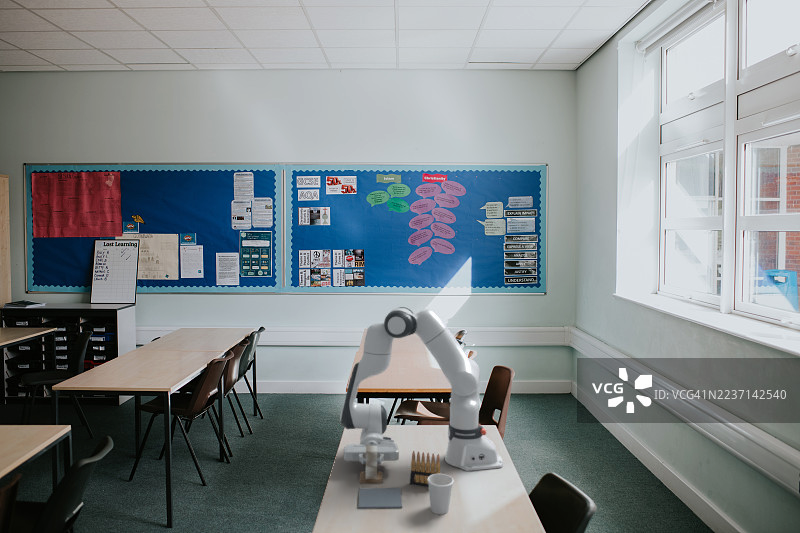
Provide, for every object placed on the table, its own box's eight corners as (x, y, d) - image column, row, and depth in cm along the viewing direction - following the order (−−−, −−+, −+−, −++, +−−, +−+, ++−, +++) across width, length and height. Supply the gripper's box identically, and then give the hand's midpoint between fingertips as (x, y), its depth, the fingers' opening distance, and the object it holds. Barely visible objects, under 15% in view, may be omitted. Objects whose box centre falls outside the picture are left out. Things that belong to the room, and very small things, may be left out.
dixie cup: (434, 518, 161) (434, 487, 160) (422, 505, 168) (422, 475, 168) (457, 513, 164) (458, 482, 163) (444, 500, 172) (445, 471, 171)
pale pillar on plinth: (382, 474, 189) (382, 444, 188) (382, 482, 183) (383, 451, 182) (360, 475, 188) (360, 445, 188) (359, 483, 182) (360, 452, 182)
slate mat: (400, 489, 178) (400, 488, 178) (402, 508, 166) (402, 506, 166) (359, 490, 177) (359, 488, 177) (358, 508, 166) (358, 506, 165)
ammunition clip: (409, 484, 182) (410, 451, 182) (410, 482, 184) (411, 449, 183) (439, 489, 180) (440, 455, 179) (440, 486, 181) (441, 453, 181)
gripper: (344, 438, 197) (342, 453, 184) (397, 438, 199) (399, 453, 185) (344, 454, 198) (342, 471, 184) (397, 454, 199) (399, 470, 185)
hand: (371, 462), depth 184 cm, fingers closed on pale pillar on plinth, 4 cm apart
